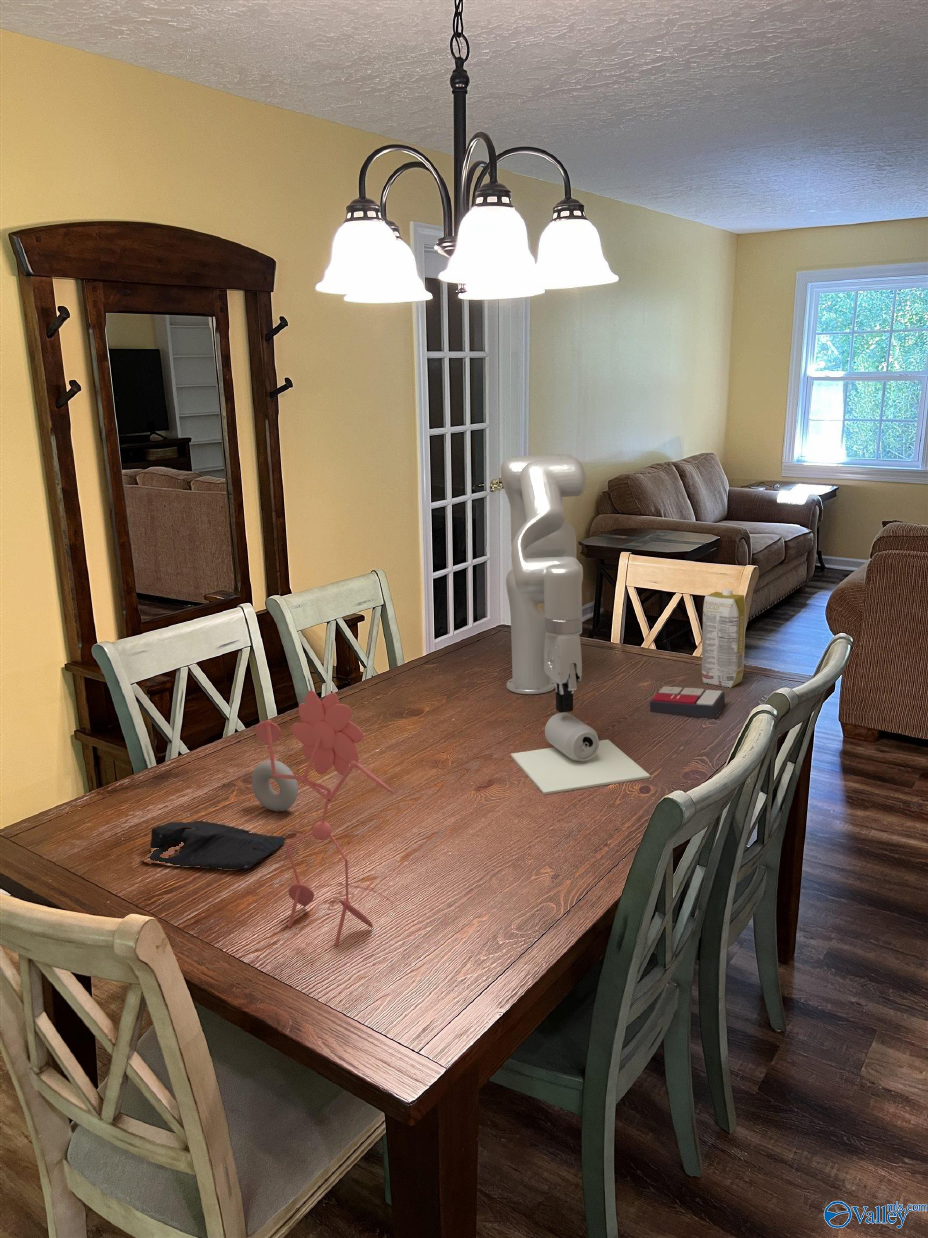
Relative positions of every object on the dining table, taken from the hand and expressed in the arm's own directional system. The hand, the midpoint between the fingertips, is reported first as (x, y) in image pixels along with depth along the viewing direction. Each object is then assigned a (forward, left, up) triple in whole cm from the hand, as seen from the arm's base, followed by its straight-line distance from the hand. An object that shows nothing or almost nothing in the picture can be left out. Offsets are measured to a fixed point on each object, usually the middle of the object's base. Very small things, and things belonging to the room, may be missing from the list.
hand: (564, 710), depth 189 cm
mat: (+7, 0, -10) cm, 12 cm away
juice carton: (-29, +54, -10) cm, 62 cm away
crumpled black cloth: (+18, -71, -10) cm, 74 cm away
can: (-5, 0, -5) cm, 7 cm away
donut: (+6, -60, -10) cm, 61 cm away
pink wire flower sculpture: (+45, -53, -10) cm, 70 cm away
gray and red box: (-15, +37, -10) cm, 41 cm away
